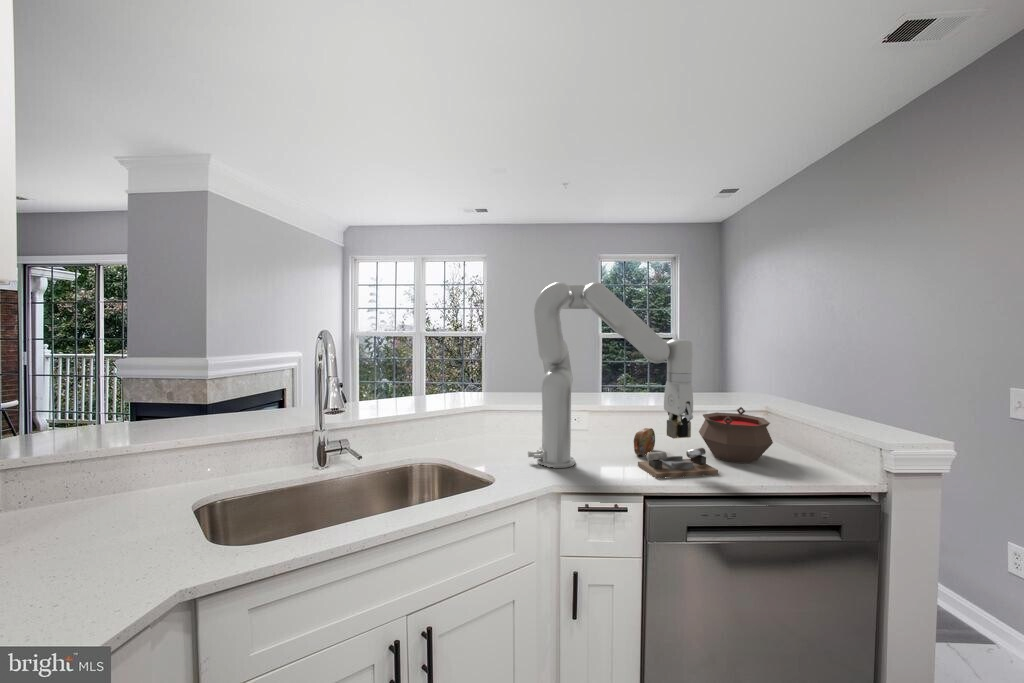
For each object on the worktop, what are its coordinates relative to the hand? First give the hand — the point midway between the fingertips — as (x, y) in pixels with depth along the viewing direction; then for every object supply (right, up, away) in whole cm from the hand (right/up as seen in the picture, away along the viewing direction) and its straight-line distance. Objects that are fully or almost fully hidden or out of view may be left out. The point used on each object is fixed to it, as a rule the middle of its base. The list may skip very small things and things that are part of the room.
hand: (678, 434), depth 145 cm
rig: (0, -11, +1) cm, 12 cm away
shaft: (+7, -10, +3) cm, 12 cm away
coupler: (0, -1, 0) cm, 1 cm away
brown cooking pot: (+25, -11, +16) cm, 32 cm away
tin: (-5, -11, +20) cm, 23 cm away
